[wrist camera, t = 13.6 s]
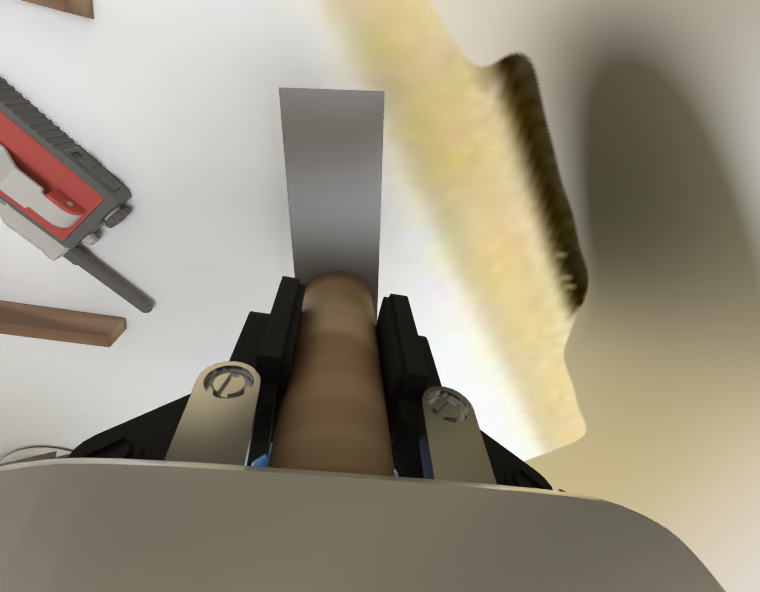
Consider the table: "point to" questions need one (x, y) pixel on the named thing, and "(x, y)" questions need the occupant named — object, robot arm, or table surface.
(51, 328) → the dock
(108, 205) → the walkie-talkie
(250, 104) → the table surface
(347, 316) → the scraper
